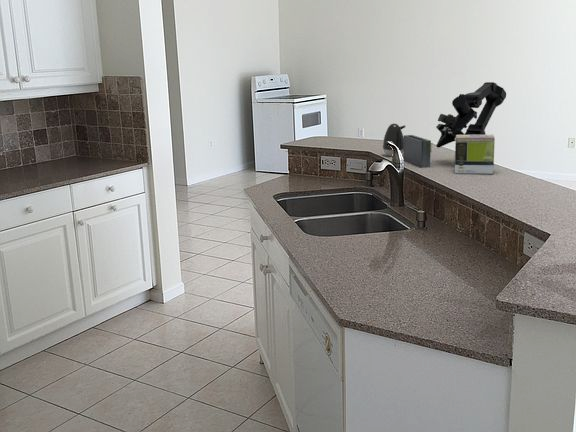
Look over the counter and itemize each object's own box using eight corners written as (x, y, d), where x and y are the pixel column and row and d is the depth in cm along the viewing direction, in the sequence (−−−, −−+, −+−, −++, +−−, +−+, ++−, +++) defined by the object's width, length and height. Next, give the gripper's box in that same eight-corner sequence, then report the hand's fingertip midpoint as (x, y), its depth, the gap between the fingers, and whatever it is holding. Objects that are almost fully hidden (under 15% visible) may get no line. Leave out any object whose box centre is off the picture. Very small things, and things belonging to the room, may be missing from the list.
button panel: (411, 159, 290) (412, 134, 287) (430, 166, 271) (430, 140, 268) (403, 160, 289) (403, 135, 286) (420, 167, 270) (421, 141, 267)
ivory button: (428, 151, 275) (428, 141, 274) (432, 152, 271) (432, 143, 270) (418, 151, 274) (418, 142, 273) (422, 153, 270) (422, 143, 269)
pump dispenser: (403, 157, 295) (403, 124, 291) (380, 157, 299) (381, 124, 295) (406, 154, 305) (407, 122, 301) (384, 153, 308) (385, 122, 304)
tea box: (492, 170, 261) (494, 134, 257) (493, 174, 252) (495, 137, 248) (454, 169, 265) (456, 133, 261) (453, 173, 256) (455, 136, 252)
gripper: (441, 105, 279) (416, 131, 280) (459, 108, 261) (433, 137, 262) (457, 122, 282) (433, 148, 283) (476, 127, 264) (450, 155, 265)
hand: (437, 147), depth 273 cm, fingers closed
